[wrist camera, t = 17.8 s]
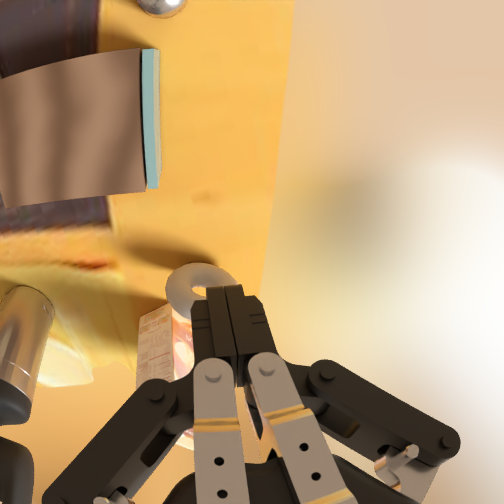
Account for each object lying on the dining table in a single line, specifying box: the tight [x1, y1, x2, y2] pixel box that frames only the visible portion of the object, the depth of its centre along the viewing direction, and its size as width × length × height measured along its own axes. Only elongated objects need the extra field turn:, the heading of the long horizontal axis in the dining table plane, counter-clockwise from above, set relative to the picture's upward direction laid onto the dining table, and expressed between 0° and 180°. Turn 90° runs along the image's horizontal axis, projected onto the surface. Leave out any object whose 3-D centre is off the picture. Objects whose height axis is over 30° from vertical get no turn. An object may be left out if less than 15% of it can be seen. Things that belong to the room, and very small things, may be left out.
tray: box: [140, 49, 162, 189], centre depth 26 cm, size 17×14×6 cm
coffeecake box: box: [136, 303, 194, 451], centre depth 43 cm, size 15×7×20 cm, turn 26°
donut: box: [165, 263, 238, 321], centre depth 39 cm, size 10×4×10 cm, turn 73°
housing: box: [0, 48, 147, 208], centre depth 25 cm, size 17×14×6 cm
